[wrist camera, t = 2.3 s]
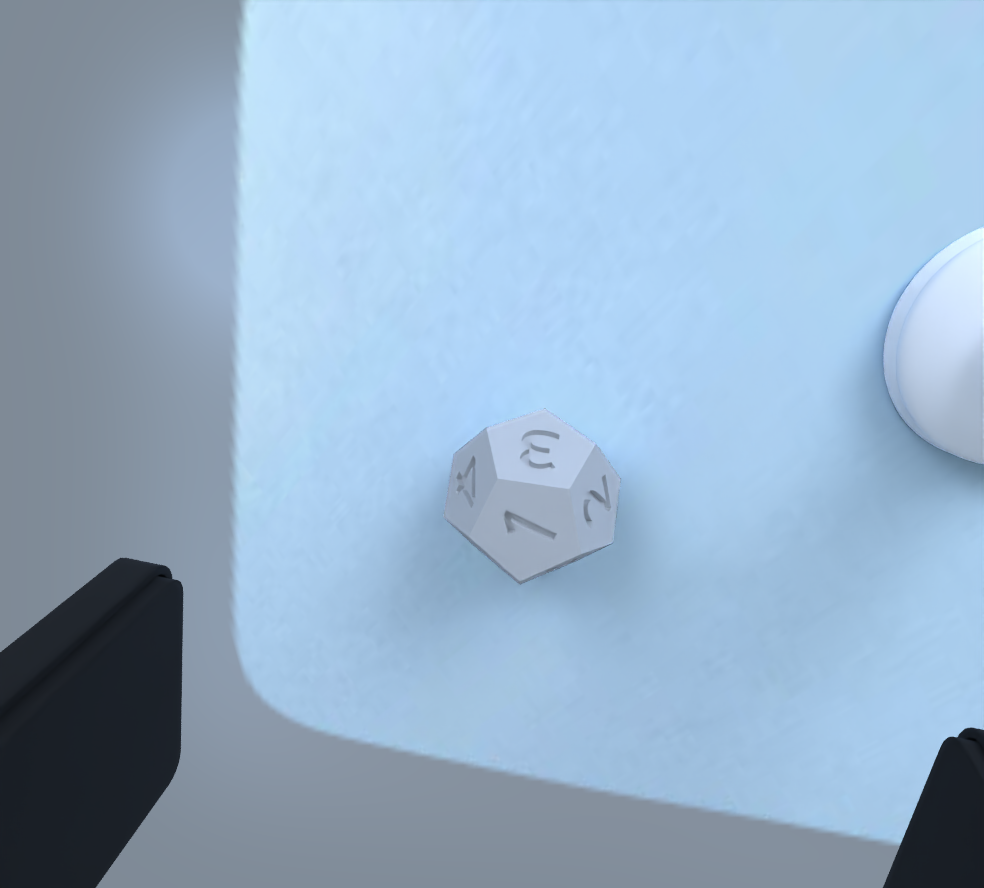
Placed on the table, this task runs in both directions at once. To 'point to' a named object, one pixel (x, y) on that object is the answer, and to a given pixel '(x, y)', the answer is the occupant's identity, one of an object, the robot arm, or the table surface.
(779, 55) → the table surface
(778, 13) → the table surface
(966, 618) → the table surface
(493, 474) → the game die
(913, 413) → the chess piece
